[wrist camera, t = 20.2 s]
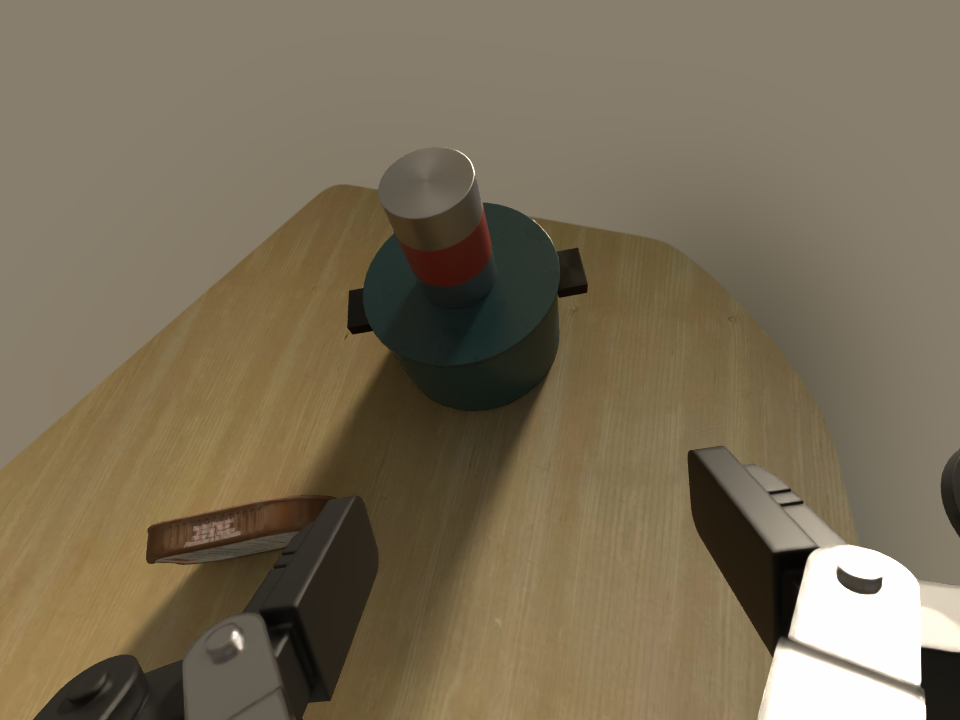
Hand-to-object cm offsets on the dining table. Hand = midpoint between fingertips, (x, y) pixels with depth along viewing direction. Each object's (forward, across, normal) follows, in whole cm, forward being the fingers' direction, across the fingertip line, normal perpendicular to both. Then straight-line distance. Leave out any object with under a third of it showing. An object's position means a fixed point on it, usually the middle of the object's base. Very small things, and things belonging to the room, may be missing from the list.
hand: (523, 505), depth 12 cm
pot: (+36, +4, +4) cm, 37 cm away
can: (+29, +4, -3) cm, 30 cm away
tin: (+24, +24, +16) cm, 38 cm away
